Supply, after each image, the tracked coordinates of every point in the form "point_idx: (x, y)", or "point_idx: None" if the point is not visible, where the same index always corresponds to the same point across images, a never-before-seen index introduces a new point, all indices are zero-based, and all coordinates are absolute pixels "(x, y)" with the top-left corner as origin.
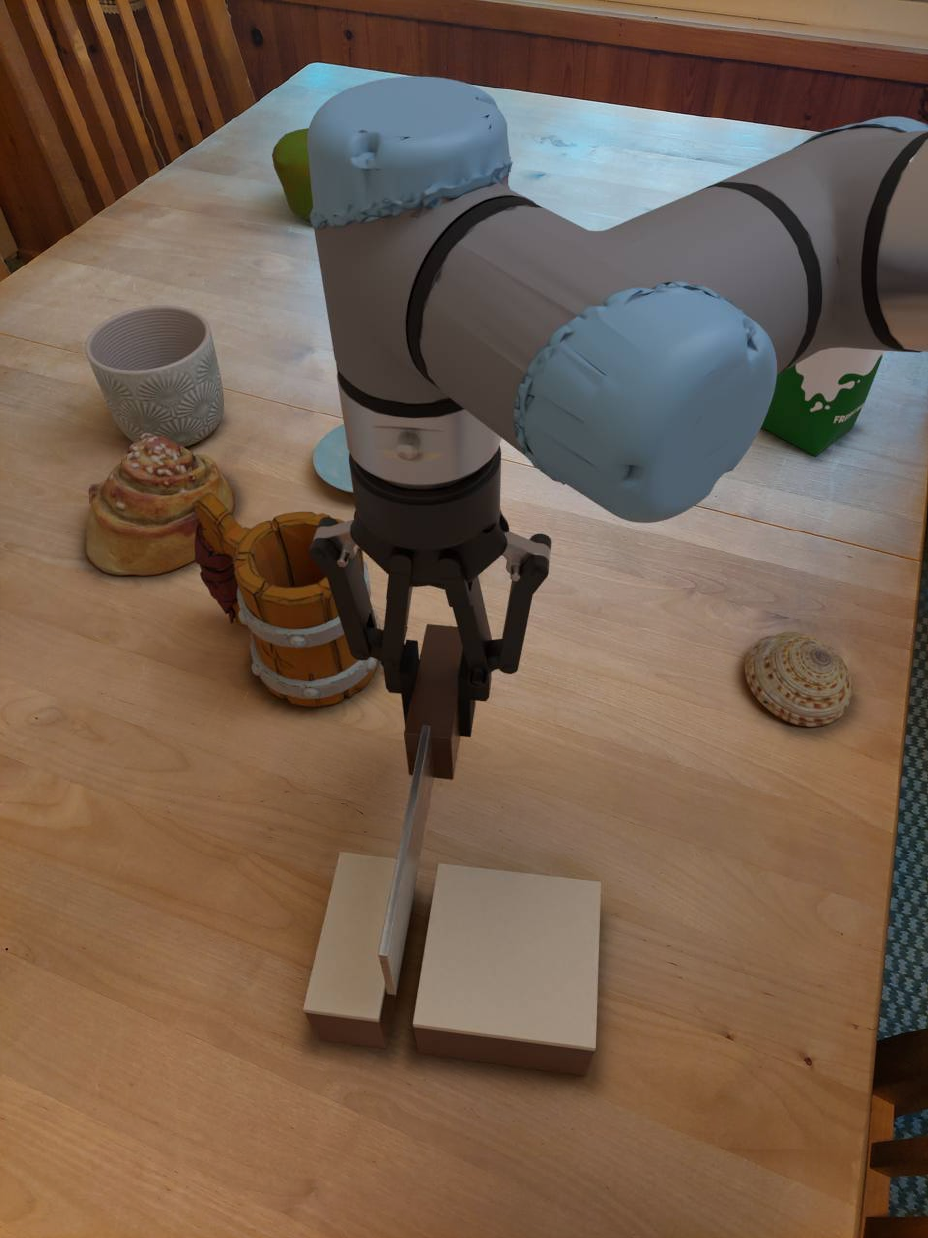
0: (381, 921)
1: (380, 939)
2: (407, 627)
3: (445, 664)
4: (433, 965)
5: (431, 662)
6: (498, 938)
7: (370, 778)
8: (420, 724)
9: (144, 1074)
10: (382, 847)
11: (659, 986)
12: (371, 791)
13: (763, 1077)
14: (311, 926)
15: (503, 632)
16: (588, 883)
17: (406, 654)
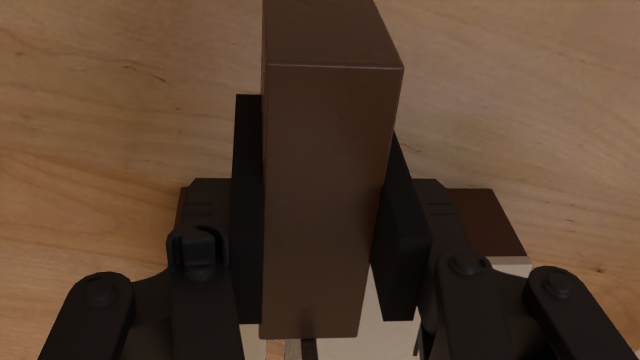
0: (248, 329)
1: (251, 343)
2: (227, 237)
3: (335, 191)
4: (318, 357)
5: (297, 190)
6: (393, 328)
7: (158, 17)
8: (290, 322)
9: (30, 352)
10: (210, 128)
11: (547, 241)
12: (167, 42)
13: (616, 293)
14: (144, 227)
15: (546, 335)
16: (516, 268)
17: (239, 278)
